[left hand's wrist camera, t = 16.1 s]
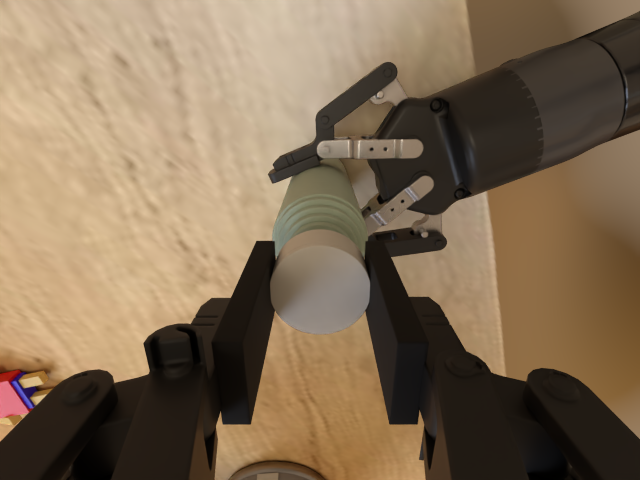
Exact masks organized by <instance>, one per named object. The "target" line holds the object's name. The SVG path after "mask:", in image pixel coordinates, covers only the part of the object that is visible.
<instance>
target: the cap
mask: <svg viewBox="0 0 640 480" xmlns="http://www.w3.org/2000/svg"><path fill="white" fill-rule="evenodd" d="M270 293H271V303H272V305H273V307H274V309H275V311H276V313H277V314H278V315H279V316H280V318H281V319H282V320H283V321H284V322H286V323H287V324H288V325H290V326H291V327H293V328H295V329H297V330H299V331H302V332H306V333H310V334H330V333H335V332H338V331H341V330H343V329H346V328H347V327H349V326H351V325H352V324H353V323H355V322H356V321H357V320H358V319H359V318H360V317H361V316H362V315H363V313H364V312H365V310H366V308H367V306H368V304H369V296H370V279H369V275H368V271H367V268H366V264H365V261H364V258H363V255H362V253H361V251H360V250H359V248H358V247H357V245H356V244H355V243H354V242H353V241H351V240H350V239H349V238H348V237H346V236H344V235H342V234H340V233H338V232H335V231H331V230H324V229H316V230H309V231H306V232H303V233H300V234H298V235H296V236H294V237H293V238H291V239H290V240H289V241H288V242H287V243H286V244H285V245H284V246H283V247H282V249H281V250H280V252H279V254H278V256H277V259H276V262H275V266H274V269H273V273H272V276H271V280H270Z"/></svg>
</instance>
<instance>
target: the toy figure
mask: <svg viewBox="0 0 640 480" xmlns="http://www.w3.org/2000/svg"><path fill="white" fill-rule="evenodd" d="M48 379H49V378H48V377H47V375H46V374H45V372H44V371H40V372H35V373H30V374H26V373H25V372H22V373H21V372H20V370H16V371H11V372H6V373H1V374H0V423H1V424H7V425H13V426H14V425H15V424H16V423H17V422H19V421H20V420H21V419H22V417H21V416H20V414H25V413H29V412H30V411H31V410H32V409H33V408H34V407H35V406H36V405H37V404H38V403H39V402H40V401H41V400H42V399H43V398H44V397H45V396H46V395H47V394H48V393H49V392H50V391H51V390H52V389H53V388H52V389H47V390H42V391H37V389H36V388H35V386H37V385H42V384H44V383H45V382H46V381H47V380H48Z"/></svg>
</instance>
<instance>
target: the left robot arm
mask: <svg viewBox="0 0 640 480" xmlns="http://www.w3.org/2000/svg"><path fill="white" fill-rule="evenodd" d="M364 261H365V264H366V268H367V271H368V275H369V279H370V296H369V304H368V306H367V308H366V310H365V312H366V316H367V321H368V326H369V330H370V335H371V340H372V344H373V349H374V354H375V358H376V363H377V368H378V372H379V377H380V382H381V387H382V391H383V396H384V401H385V405H386V410H387V415H388V419H389V424H418V417H419V410H420V412H421V415H422V418H423V421H424V431H423V438H422V444H421V451H420V457H419V460H424V465H425V476H426V480H640V439H639V438H638V437H637V436H636V435H635V434H634V433H633V432H632V431H631V430H630V429H629V428H628V427H627V426H626V425H625V424H624V423H623V422H622V421H621V420H620V419H619V418H618V417H617V416H616V415H615V414H614V413H613V412H612V411H611V410H610V409H609V408H608V407H607V406H606V405H605V404H604V403H603V402H602V401H601V400H600V399H599V398H598V397H597V396H596V395H595V394H594V393H593V392H592V391H591V390H590V389H589V388H588V387H587V386H586V385H584V384H583V383H582V382H581V381H579V380H578V379H576V378H574V377H572V376H570V375H569V374H567V373H564V372H561V371H557V370H554V369H546V368H540V369H535V370H533V371H532V372H530V373H529V374H528V377H527V381H526V382H525V381H521V380H516V379H512V378H508V377H503V376H500V375H497V374H493V373H491V371H490V369H489V368H488V366H487V365H486V363H485V362H483V361H482V360H481V359H480V358H479V357H477V356H475V355H473V354H471V353H469V352H466V350H465V349H464V347H463V345H462V343H461V342H460V340H459V338H458V337H457V335H456V333H455V331H454V330H453V328H452V326H451V325H450V324H449V321H448V319H447V318H446V317H445V314H444V312H443V311H442V309H441V307H440V305H438V304H437V303H436V302H434V301H433V300H432V299H431V298H429V297H409V296H408V294H407V292H406V290H405V287H404V285H403V283H402V281H401V279H400V276H399V274H398V272H397V270H396V267H395V265H394V263H393V261H392V259H391V256H390V254H389V252H388V250H387V247H386V245H385V243H384V241H365V260H364ZM275 262H276V255H275V241H256V243H255V246H254V248H253V250H252V252H251V255H250V257H249V259H248V261H247V263H246V266H245V268H244V270H243V272H242V275H241V277H240V279H239V281H238V284H237V286H236V288H235V290H234V292H233V295H232V297H231V298H211V299H210V300H209V301H207V302H206V303H205V304H203V305H202V306H201V307H200V309H199V311H198V312H197V314H196V317H195V318H194V319H193V321H192V323H191V324H174V325H169V326H166V327H164V328H161V329H159V330H157V331H155V332H154V333H152V334H151V335H150V336H148V338H147V339H146V340H145V342H144V348H145V352H146V356H147V361H148V365H149V369H150V372H149V374H148V375H145V376H142V377H138V378H134V379H130V380H125V381H121V382H117V383H114V380H113V376H112V375H111V374H110V373H109V372H108V371H103V370H88V371H85V372H81V373H78V374H75V375H73V376H71V377H69V378H67V379H65V380H63V381H62V382H61V383H59V384H58V385H57V386H56V387H54V388H53V389H52V390H51V391H50V392H49V393H48V394H47V395H46V396H45V397H44V398H43V399H42V400H41V401H40V402H39V403H38V404H37V405H36V406H35V407H34V408H33V409H32V410H31V411H30V412H29V413H28V414H27V415H26V416H25V417H24V418H23V419H22V420H21V421H20V422H19V423H18V424H17V425H16V426H15V427H14V428H13V429H12V430H11V431H10V432H9V433H8V434H7V436H6V437H5V438H4V439H3V440H2V441H1V442H0V480H214V477H215V465H216V454H217V442H218V438H217V431H216V424H217V421H218V418H219V414H220V411H221V415H222V422H223V424H251V420H252V416H253V411H254V406H255V402H256V397H257V392H258V388H259V383H260V378H261V373H262V369H263V364H264V359H265V355H266V350H267V345H268V341H269V336H270V331H271V327H272V322H273V317H274V313H275V309H274V307H273V305H272V303H271V293H270V280H271V276H272V273H273V269H274V266H275ZM229 480H325V479H324V478H323V477H321V476H320V475H319V474H317V473H316V472H314V471H313V470H311V469H309V468H307V467H304V466H301V465H298V464H294V463H289V462H279V461H273V462H263V463H258V464H254V465H251V466H248V467H246V468H243V469H241V470H240V471H238V472H237V473H235V474H234V475H233V476H232V477H231V478H230V479H229Z"/></svg>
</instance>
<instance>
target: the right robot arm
mask: <svg viewBox="0 0 640 480" xmlns="http://www.w3.org/2000/svg"><path fill="white" fill-rule="evenodd" d="M396 76H397V68H396V66H395V65H394V64H393V63H391V62H386V63H383V64H382V65H380V66H378V67H377V68H375V69H374V70H373V71H371V72H370V73H369V74H367V75H366V76H365V77H363V78H362V79H361V80H359V81H358V82H357V83H356V84H354V85H353V86H352V87H350V88H349V89H348V90H346V91H345V92H344V93H342V94H341V95H340V96H338V97H337V98H336V99H334V100H333V101H332V102H330V103H329V104H328V105H327V106H325V107H324V108H323V109H321V110H320V111H319V112H318V113H317V115H316V138H315V140H314V141H313V142H312V143H310V144H308V145H305V146H303V147H301V148H298V149H296V150H293V151H291V152H289V153H286V154H284V155H282V156H280V157H279V158H278V159H277V160H276V161H275V162H274V163H273V166H274V169H272V170H271V171H270V172H269V174H268V175H269V178H270V180H271V182H272V183H276V182H279V181H281V180H284V179H286V178H289V177H291V176H294V175H296V174H298V173H301V172H303V171H305V170H308V169H311V168H313V167H316V166H318V165H320V161H321V160H323V159H341V158H352V159H367V160H368V163H369V165H370V167H371V168H372V170H373V171H374V173H375V179H376V186H377V189H378V192H379V193H377V194H376V195H375V196H374V197H373V198H372V199H370V201H369V202H368V204H367V205H366V206H365V207H364V208H363V209H361V213H362V216H363V218H364V221H365V224H366V227H367V232H368V241H384V243H385V245H386V247H387V250H388V252H389V254H390V256H391V257H395V256H402V255H410V254H417V253H424V252H431V251H438V250H442V249H443V248H445V246H446V244H447V240H446V238H445V237H444V236H443V234H442V221H441V213H443V212H444V211H446V210H447V209H448V207H449V206H451V205H452V204H453V203H454V202H456V201H458V200H460V199H464V198H468V197H471V196H474V195H477V194H479V193H482V192H485V191H487V190H490V189H493V188H495V187H498V186H501V185H503V184H506V183H509V182H511V181H514V180H517V179H520V178H522V177H525V176H528V175H530V174H533V173H536V172H538V171H541V170H544V169H546V168H549V167H552V166H554V165H557V164H559V163H562V162H565V161H567V160H570V159H572V158H574V157H576V156H578V155H580V154H582V153H584V152H586V151H588V150H590V149H592V148H594V147H595V146H598V145H600V144H602V143H605V142H608V141H610V140H613V139H616V138H618V137H621V136H624V135H626V134H629V133H632V132H634V131H637V130H640V11H639V12H637V13H635V14H633V15H631V16H629V17H627V18H624V19H622V20H619V21H617V22H615V23H612V24H610V25H608V26H605V27H603V28H601V29H598V30H596V31H593V32H591V33H588V34H586V35H584V36H581V37H579V38H577V39H574V40H572V41H569V42H567V43H563V44H560V45H556V46H552V47H549V48H545V49H542V50H539V51H536V52H534V53H531V54H528V55H526V56H524V57H521V58H519V59H514V60H513V59H512V60H509V61H507V62H505V63H503V64H502V65H500V66H499V67H497V68H495V69H492V70H490V71H488V72H485V73H483V74H481V75H478V76H476V77H473V78H471V79H469V80H466V81H464V82H462V83H459V84H457V85H454V86H452V87H450V88H447V89H445V90H443V91H440V92H438V93H435V94H433V95H431V96H428V97H425V98H408V97H407V95H406V94H405V92H404V90H403V88H402V87H401V85H400V83H399V81H398V80H397V78H396ZM368 99H369V101H370V102H371V103H373V104H382V103H384V102H390V103H391V104H392V105H393V107H392V109H391V110H390V112H389V113H388V115H387V116H386V118H385V119H384V121H383V122H382V124H381V125H380V127H379V128H378V130H377V131H376V133H375V135H354V136H343V137H334V125H335V124H336V123H337V122H339V121H340V120H341V119H343V118H344V117H345V116H347V115H348V114H349V113H351V112H352V111H353V110H355V109H356V108H358V107H359V106H360V105H362V104H363V103H364V102H366V101H367V100H368ZM391 208H393V209H391ZM406 209H407V210H411V211H415V212H420V213H424V214H425V216H424V217H423V218H422V219H420V220H417V221H415V222H414V223H413V224H412V227H410V228H403V229H396V230H389V231H382V232H375V231H376V230H377V229H378V228H379V227H381V226H384V225H387V224H388V223H390V222H391V221H392V220H393V219H395V218H396V217H397V216H398V215H399V214H401V213H402V212H403V211H404V210H406ZM373 232H375V233H373Z"/></svg>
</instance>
